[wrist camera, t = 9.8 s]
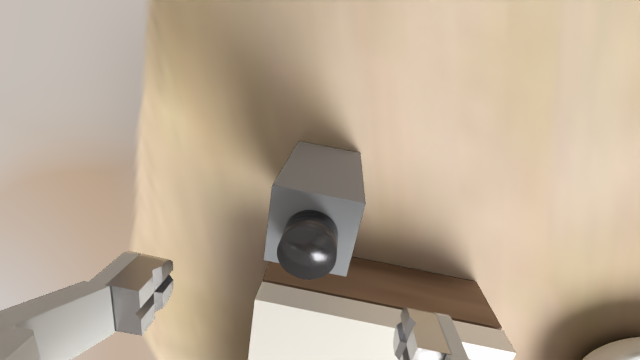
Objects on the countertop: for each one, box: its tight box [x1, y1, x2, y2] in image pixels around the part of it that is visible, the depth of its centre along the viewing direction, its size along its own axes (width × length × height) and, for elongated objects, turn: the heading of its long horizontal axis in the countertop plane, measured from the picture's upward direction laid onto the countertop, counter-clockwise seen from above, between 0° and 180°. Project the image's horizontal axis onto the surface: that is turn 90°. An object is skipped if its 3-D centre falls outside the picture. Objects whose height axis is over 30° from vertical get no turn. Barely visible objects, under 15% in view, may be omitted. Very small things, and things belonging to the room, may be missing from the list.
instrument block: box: [264, 141, 365, 280], centre depth 16 cm, size 4×4×9 cm
